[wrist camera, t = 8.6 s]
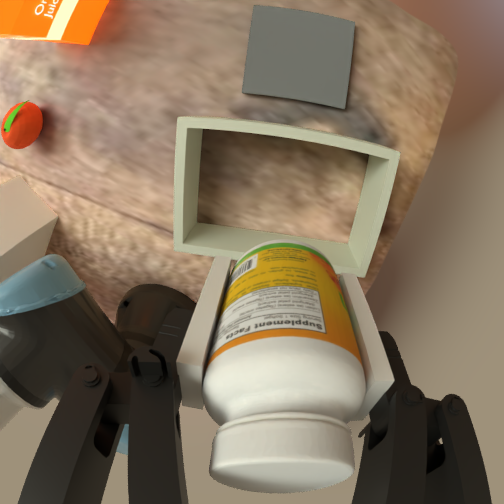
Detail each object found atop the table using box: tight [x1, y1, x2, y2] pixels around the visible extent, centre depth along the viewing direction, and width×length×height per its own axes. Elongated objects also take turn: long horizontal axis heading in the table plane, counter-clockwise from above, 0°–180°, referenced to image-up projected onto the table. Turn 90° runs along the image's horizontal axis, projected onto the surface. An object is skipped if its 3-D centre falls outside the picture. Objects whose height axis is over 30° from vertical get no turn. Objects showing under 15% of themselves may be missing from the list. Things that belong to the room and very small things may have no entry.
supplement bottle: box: [202, 239, 366, 493], centre depth 10 cm, size 5×5×10 cm
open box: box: [174, 116, 401, 278], centre depth 29 cm, size 14×21×6 cm, turn 83°
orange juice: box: [0, 0, 109, 45], centre depth 12 cm, size 8×9×20 cm
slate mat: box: [242, 5, 355, 109], centre depth 23 cm, size 11×11×1 cm
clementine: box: [1, 100, 43, 149], centre depth 25 cm, size 8×7×7 cm
